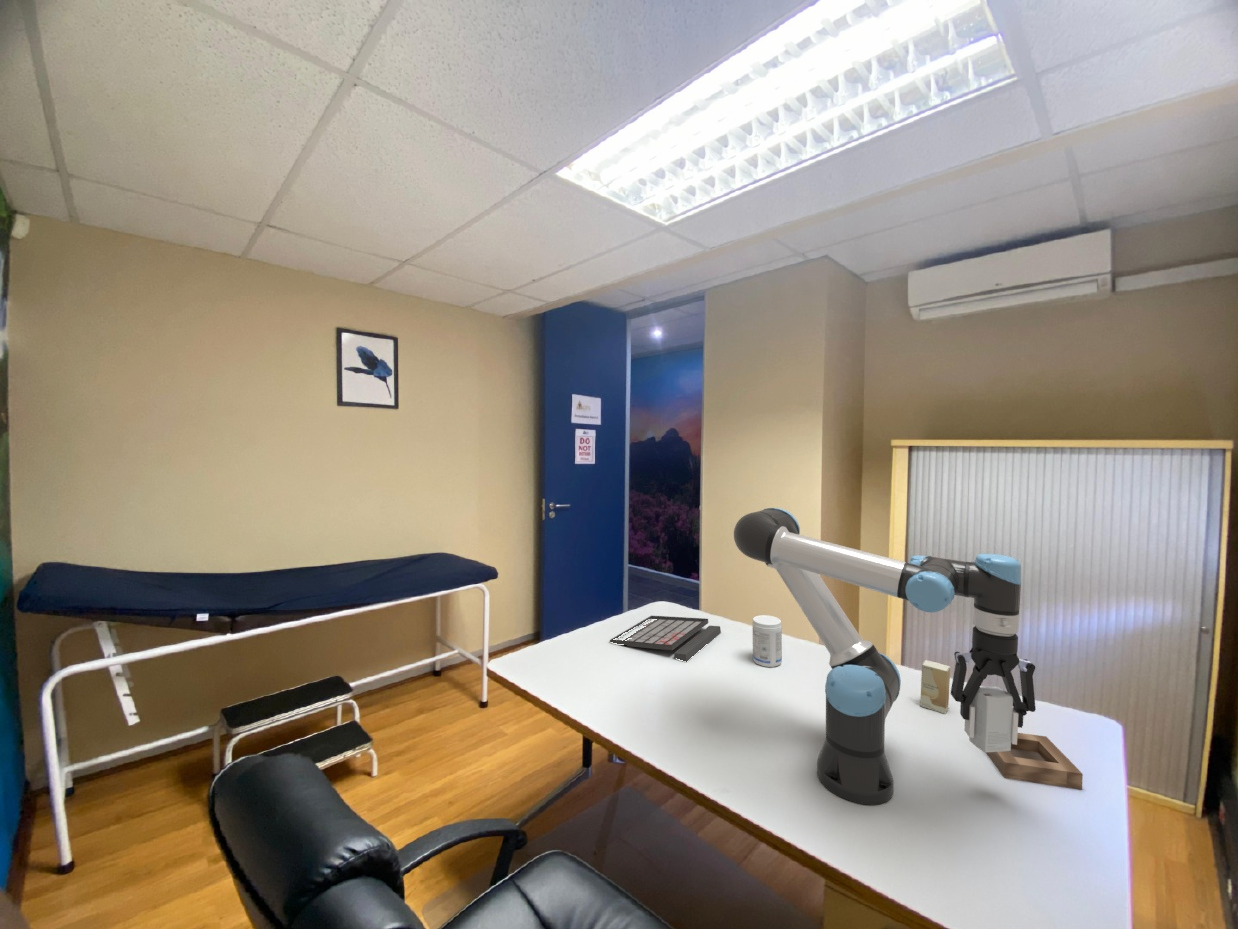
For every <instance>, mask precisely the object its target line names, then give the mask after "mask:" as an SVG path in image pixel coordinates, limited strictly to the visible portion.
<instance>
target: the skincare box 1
mask: <svg viewBox="0 0 1238 929" xmlns="http://www.w3.org/2000/svg"><path fill="white" fill-rule="evenodd" d="M950 678H951V666H950V665H946V664H942V663H939V662H935V661H931V660H928V659H925V660H924V661H923V662H922V664H921V680H920V682H921V683H920V684H921V685H920V704H919V705H920V707H923V708H925V709H929V710H932V711H934V712H937V713H941V714H945V715H946V713H947V712H948V710H949V705H950V704H949V703H950V702H949V700H950V680H951V679H950Z"/></svg>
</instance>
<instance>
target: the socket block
mask: <svg viewBox="0 0 1238 929" xmlns="http://www.w3.org/2000/svg"><path fill="white" fill-rule="evenodd" d="M985 753H986V755H987V756H988V757H989V759H990V760H991V761H992V762H993V764H994V766H995V767H996V768H997V769H998V771H999V772H1000V774H1001V775H1002V776H1003V777H1004V779H1010V780H1017V781H1023V782H1030V783H1036V784H1043V785H1049V786H1054V787H1055V786H1056V787H1062V788H1067V789H1068V788H1069V789H1075V790H1081V791H1082V790H1083V776H1084V774H1083V772H1082V771H1081V770H1080V769H1079V768H1078V767H1077V766H1076V765H1075V764H1074V763H1073V762H1072V761H1071V760H1070V759H1069V758H1068V757H1067V756H1066V755H1065V754H1064V753H1063V752H1062V751H1061V750H1060V749H1059V748H1058V747H1057V746H1056V745H1055V744H1054V743H1053V742H1052V741H1051V740H1050V739H1049V737H1047V736H1045V735H1039V734H1029V733H1025V732H1024V733H1023V732H1018V734H1017V745H1015V744H1012V743H1011V751H1000V752H985Z"/></svg>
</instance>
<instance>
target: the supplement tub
mask: <svg viewBox="0 0 1238 929" xmlns="http://www.w3.org/2000/svg"><path fill="white" fill-rule="evenodd" d="M782 628H783V627H782V620H781V619H780V618H779V617H776V616H773V615H768V614H765V615H764V614H763V615H756V616H754V617H753V618H752V659H753V661H754V663H755V664H757V665H759V666H762V667H766V668H775V667H778V666H780V665H781V664H782V662H783V661H782V660H783V653H782V652H783V646H782V645H783V644H782V643H783V642H782V641H783V640H782V639H783V637H782V636H783V635H782V633H783V632H782Z"/></svg>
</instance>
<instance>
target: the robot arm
mask: <svg viewBox="0 0 1238 929" xmlns="http://www.w3.org/2000/svg"><path fill="white" fill-rule="evenodd" d="M800 529H801V527H800V525H799V522H798V520H797V519H796V517H795V516H794V515H793V514H792V513H790V511H788V510H786V509H783V508H779V507H769V508H767V507H766V508H764V509H762V510H761V509H760V510H758V511H755V512H750V513H747V514H744V515H743V516H741V518H739V520H737V522H736V523H735V526H734V529H733V540H734V542H735V546H736V547H737V549H738V550H739V551H740V552H741V553H742V554H743V555H744V556H746V557H748V558H750V559H752V560H755V561H759V562H762V563H764V564H765V565H766V567H768V568H771V569H774V570H776V572H777V574H778V575H779V577H780V578H781V579H782V581H783V583H784V584H785V585H786V587H787V589H788V590H789V592H790V594H791V595H792V597H793V599H794V600H795V602H796V603H797V604H798V606H799V607H800V609H801V611H802V613H803V614H804V616H805V617H806V618H807V620H808V622H809V623H810V625H811V627H812V628H813V630H814V631H815V633H816V634H817V636H818V638H819V639H820V641H821V642H822V644H823V645H824V646H825V648H826V650H827V651H828V653H829V656H830V657H829V662H828V664H829V667H830V668H831V670H830V671H829V672H828V673H827V675H826V680H825V681H826V682H825V685H824V686H825V687H824V688H825V689H824V692H825V740H824V742H823V744H822V748H821V750H820V752H819V755H818V758H817V762H816V775H817V777H818V779H819V781H820V783H821V784H822V785H823V786H824V787H826V789H827V790H828V791H830V792H831V793H833V794H834V795H837V796H838V797H841V798H842V799H845V800H847V801H849V802H853V803H857V804H861V805H880V804H884V803H887V802H888V801H889V800H890V799H891V798H892V797H893V795H894V778H893V774H892V771H891V769H890V765H889V761H888V760H887V756H886V754H885V730H886V729H885V728H886V726H885V724H886V718H887V717H888V715H889V713H890V710H891V709H892V707H893V705H894V703H895V702H896V700H897V698H898V697H899V695H900V691H901V676H900V671H899V670H898V667H897V665H896V664H895V663H894V662H893V660H892V659H890V657H888V656H887V655H886V654H884V653H881V652H879V651H878V649H877V648H876V646H875V644H873V641H869V640H867V639H863V638H862V637H861V635H860V634H859V632H858V631H857V629H856V628H855V626H854V625H853V623H852V622H851V620H850V619H849V617H848V616H847V614H846V612H845V611H844V609H842V607H841V606H840V604H839V602H838V601H837V599H836V598H835V597H834V595H833V593H832V591H831V590H830V589H829V587H828V586H827V583H825V580H824V579H823V578H822V577H821V576H824V577H827V578H831V579H834V580H838V581H842V582H845V583H848V584H850V585H854V586H858V587H861V588H865V589H869V590H872V591H875V592H878V593H881V594H884V595H889V596H891V597H895V598H899V599H900V600H901V599H902V600H904V601H908V602H909V604H911V605H912V606H913V607H915V608H916V609H917V610H919V611H922V612H925V613H931V614H932V613H937V612H938V613H939V612H941V611H943V610H945V609H946V608H947V607H948V606H949V605H950V604H952V601H953V600H954V597H955V596H956V597H957V596H958V597H962V598H963V597H964V598H970V599H973V615H972V624H973V625H974V626H973V627H972V632H971V633H972V638H971V639H972V640H971V644H972V645H971V648H970V650H969V651H968V652H965V653H964V652H962V653H961V652H960V651H954V653H953V655H954V660H955V665H954V671H953V678H952V683H951V688H950V696H951V697H952V698H953V699H954V700H955V702H957V703H960V709H959V714H960V716H961V718H962V719H963V720H964V732H965V733H966V734H967V736H968V737H970V738H974V720H975V707H974V706H973V705H972V701H973V699H974V697H975V695H976V693H977V692H978V690H979V688H980V687H982V686H981V685H982V684H983V682H984V680H986V679H987V677H988V676H998V677H1001V678H1002V681H1003V683H1004V686H1005V689H1006V692H1008V693H1010V694H1011V695H1012V697H1013V715H1012V734H1011V743H1012V744H1015V745H1017V734H1018V733H1019V732H1018V729H1019V728H1022V729H1023V726H1024V716H1027V714H1028V712H1031V713H1032V712H1033V713H1034V712H1036V699H1035V698H1036V697H1035V688H1034V677H1033V676H1034V672H1035V670H1036V665H1035V664H1034V663H1032V662H1031V661H1030V660H1029V659H1026V658H1025V659H1022V658H1019V656H1018V650H1019V649H1018V648H1019V647H1018V646H1019V636H1018V635H1017V634H1019V627H1020V626H1019V625H1020V624H1019V622H1020V605H1021V592H1022V591H1021V589H1022V566H1021V563H1020V561H1019V560H1018V559H1016V558H1015V557H1012V556H1009V555H1004V554H997V553H979V554H977V555H976V556H975V559H974V561H963V560H958V559H957V560H956V559H951V558H943V557H936V556H935V557H934V556H931V555H918V554H916V555H913V556H911V558H910V560H909V562H906V561H904V560H903V561H902V560H898V559H895V558H892V557H887V556H884V555H879V554H875V553H872V552H868V551H864V550H860V549H856V548H853V547H847V546H844V545H841V544H836V543H834V542H828V541H824V540H822V539H821V540H820V539H816V538H812V537H809V536H805V535H802V534H800V533H801V532H800V531H801V530H800ZM971 660H972V661H973V663H974V665H973V667H972V673H970V677H969V678H968V680H967V683H966V685H965V681H966V677H967V676H966V675H967V670H968V669H967V668H968V666H967V665H969V664H970V661H971ZM1016 667H1018V669H1019V678H1020V687H1021V688H1020V689H1021V696H1020V694H1019V691H1018V689H1017V686H1016V683H1015V679H1014V677H1013V674H1012V671H1013V670H1014V669H1015V668H1016Z"/></svg>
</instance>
